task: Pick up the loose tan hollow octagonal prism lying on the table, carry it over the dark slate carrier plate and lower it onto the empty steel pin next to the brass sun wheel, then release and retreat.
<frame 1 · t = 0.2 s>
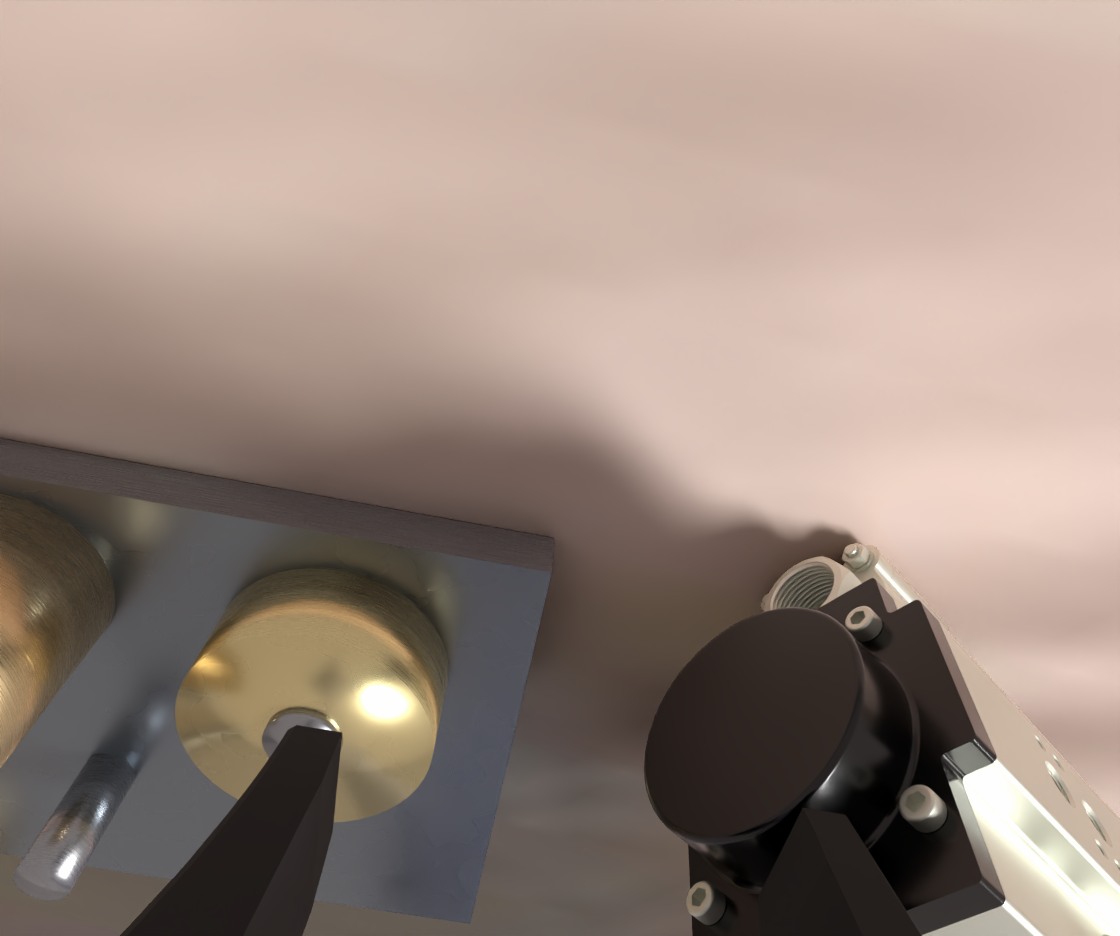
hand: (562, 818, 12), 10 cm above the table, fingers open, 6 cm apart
carrier: (236, 687, 25), on the table
pneumatic valve: (862, 597, 23), on the table, touching gripper
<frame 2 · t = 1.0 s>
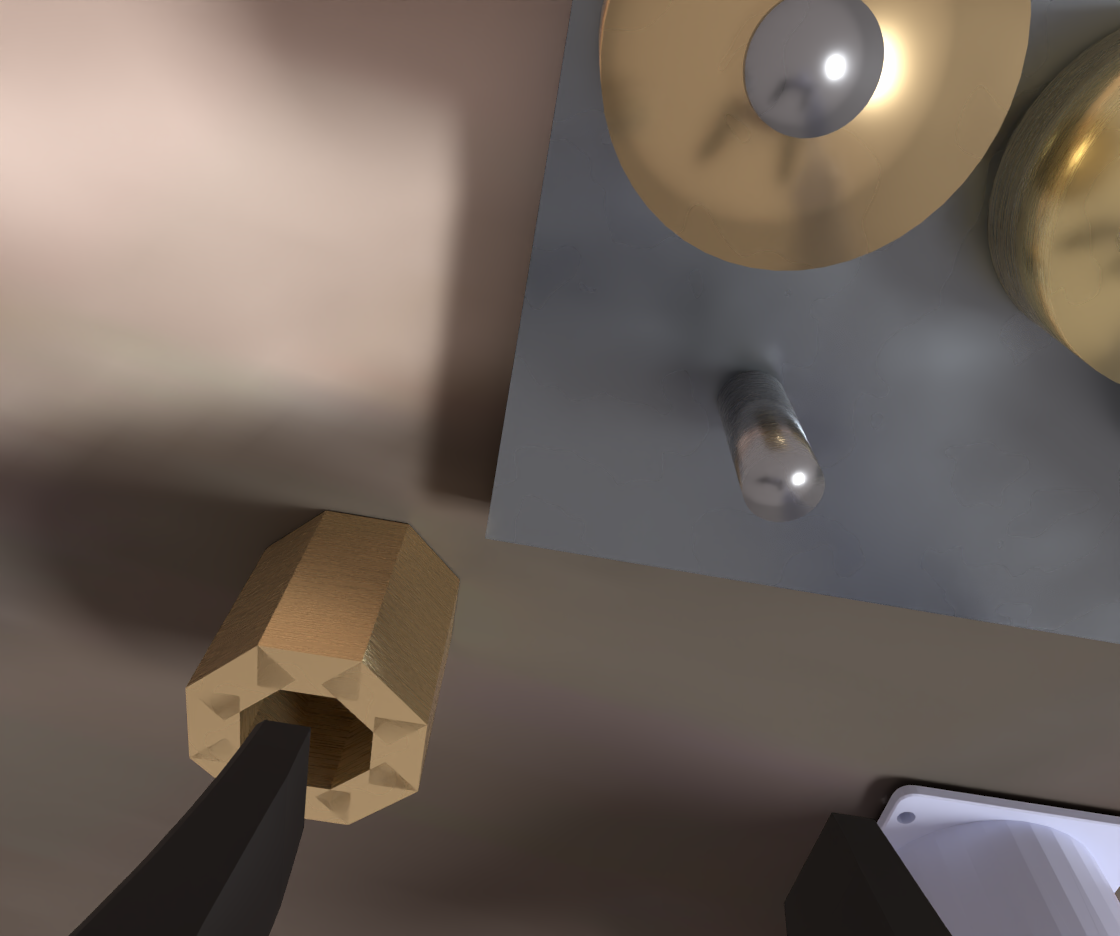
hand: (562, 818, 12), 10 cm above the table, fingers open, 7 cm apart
carrier: (911, 290, 18), on the table
tan hollow octagonal prism: (361, 595, 23), on the table
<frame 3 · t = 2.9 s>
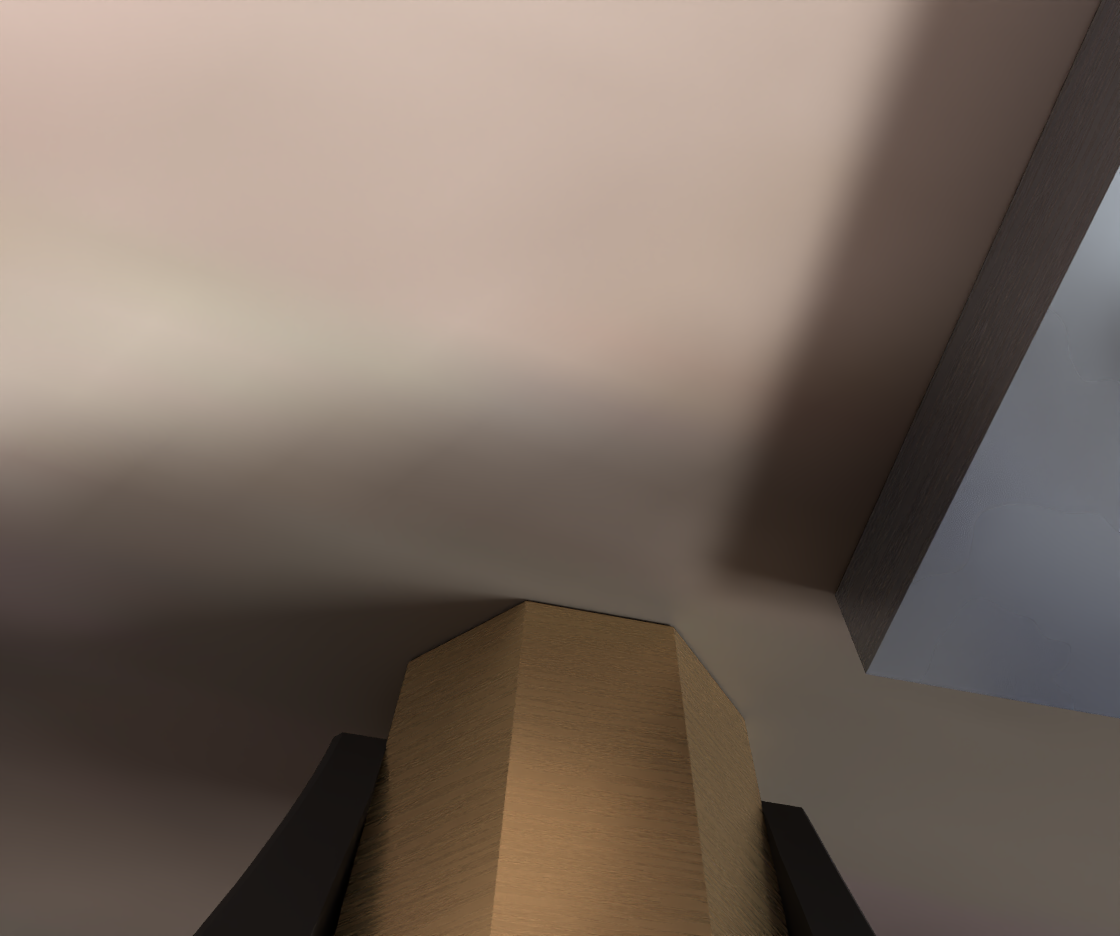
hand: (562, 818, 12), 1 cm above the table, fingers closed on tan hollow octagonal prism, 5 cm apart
tan hollow octagonal prism: (564, 740, 13), on the table, touching gripper
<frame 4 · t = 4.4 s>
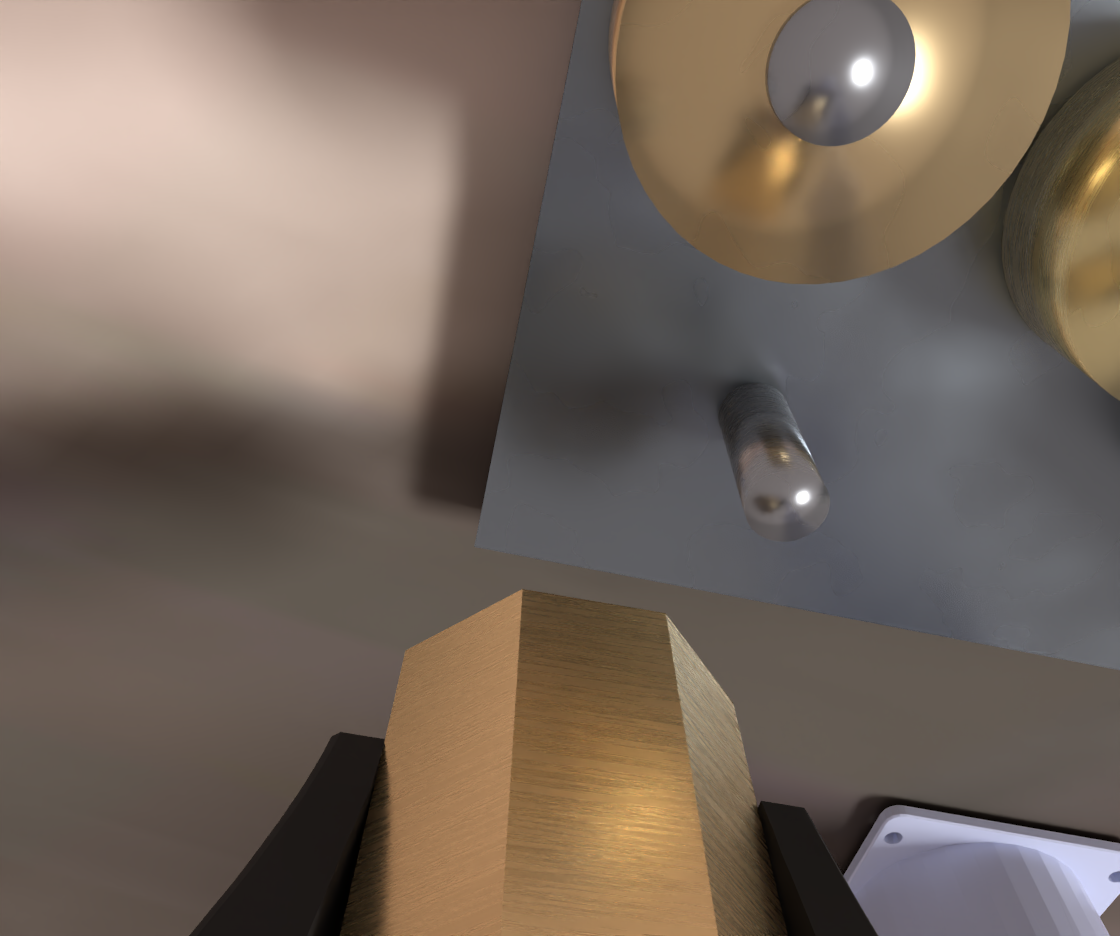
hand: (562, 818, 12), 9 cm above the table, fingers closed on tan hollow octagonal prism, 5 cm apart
carrier: (919, 305, 18), on the table
tan hollow octagonal prism: (558, 725, 13), point 8 cm above the table, touching gripper
when the fingers open (4 cm above the table, at t = 6.1 s): tan hollow octagonal prism drops 1 cm, resting on carrier.
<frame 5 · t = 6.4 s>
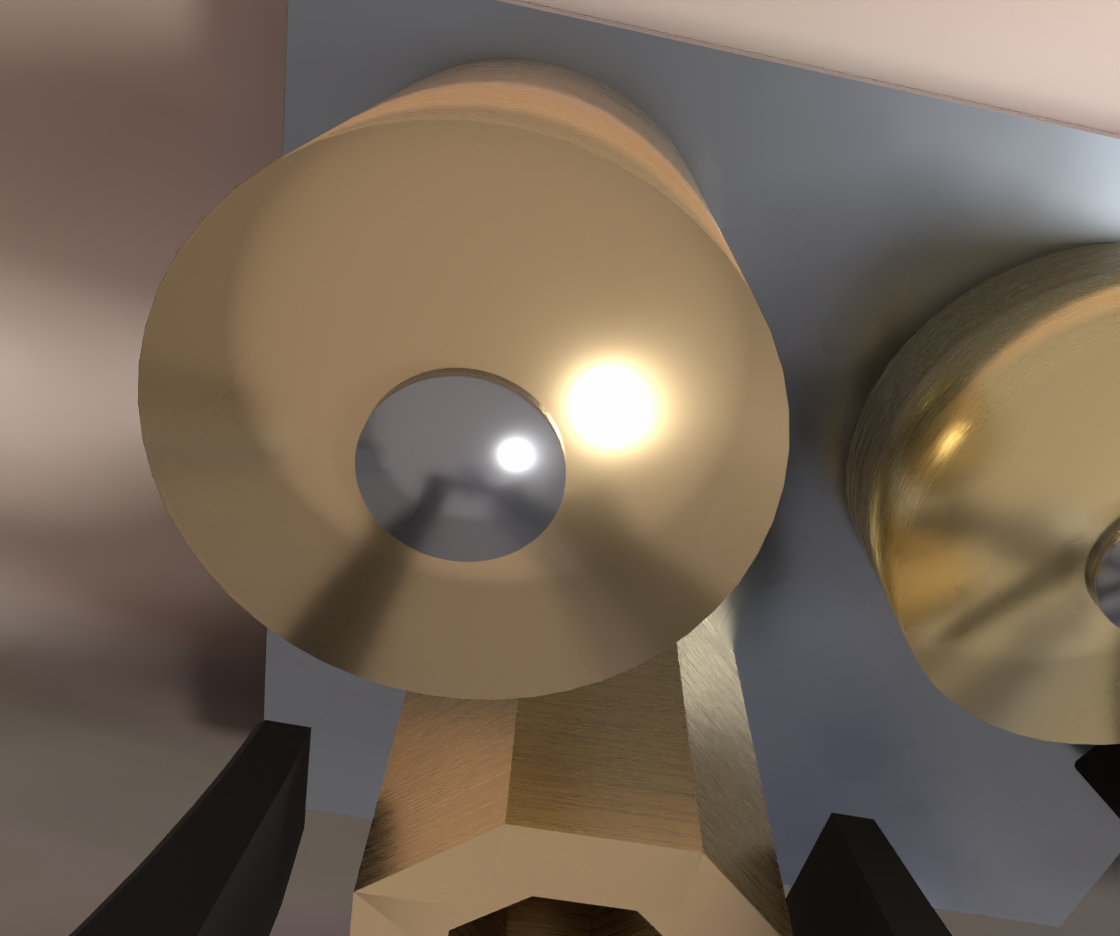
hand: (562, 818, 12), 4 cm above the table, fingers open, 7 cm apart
carrier: (771, 531, 15), on the table
tan hollow octagonal prism: (571, 675, 14), point 1 cm above the table, touching carrier
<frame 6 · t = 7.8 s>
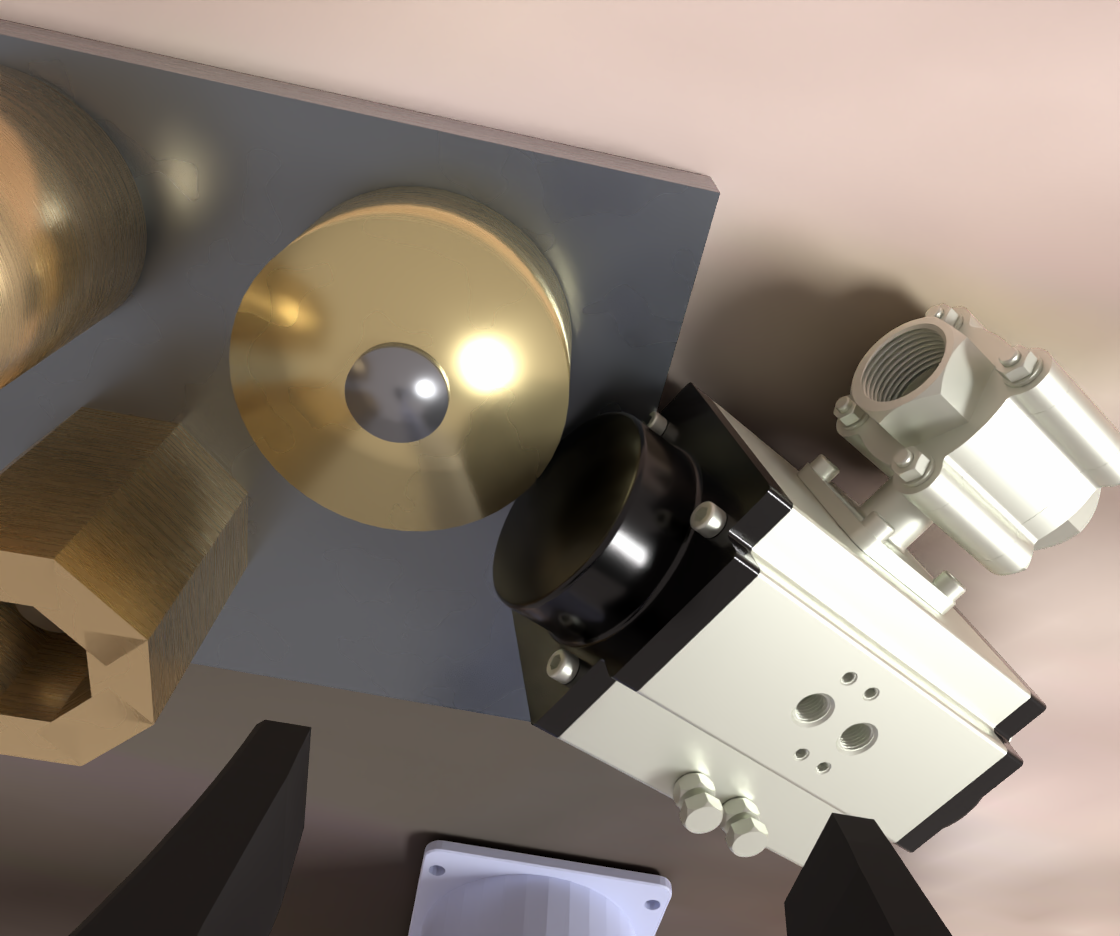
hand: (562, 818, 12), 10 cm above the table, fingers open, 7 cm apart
carrier: (290, 408, 20), on the table
pneumatic valve: (1069, 375, 16), point 2 cm above the table, touching carrier
tan hollow octagonal prism: (138, 511, 20), point 1 cm above the table, touching carrier
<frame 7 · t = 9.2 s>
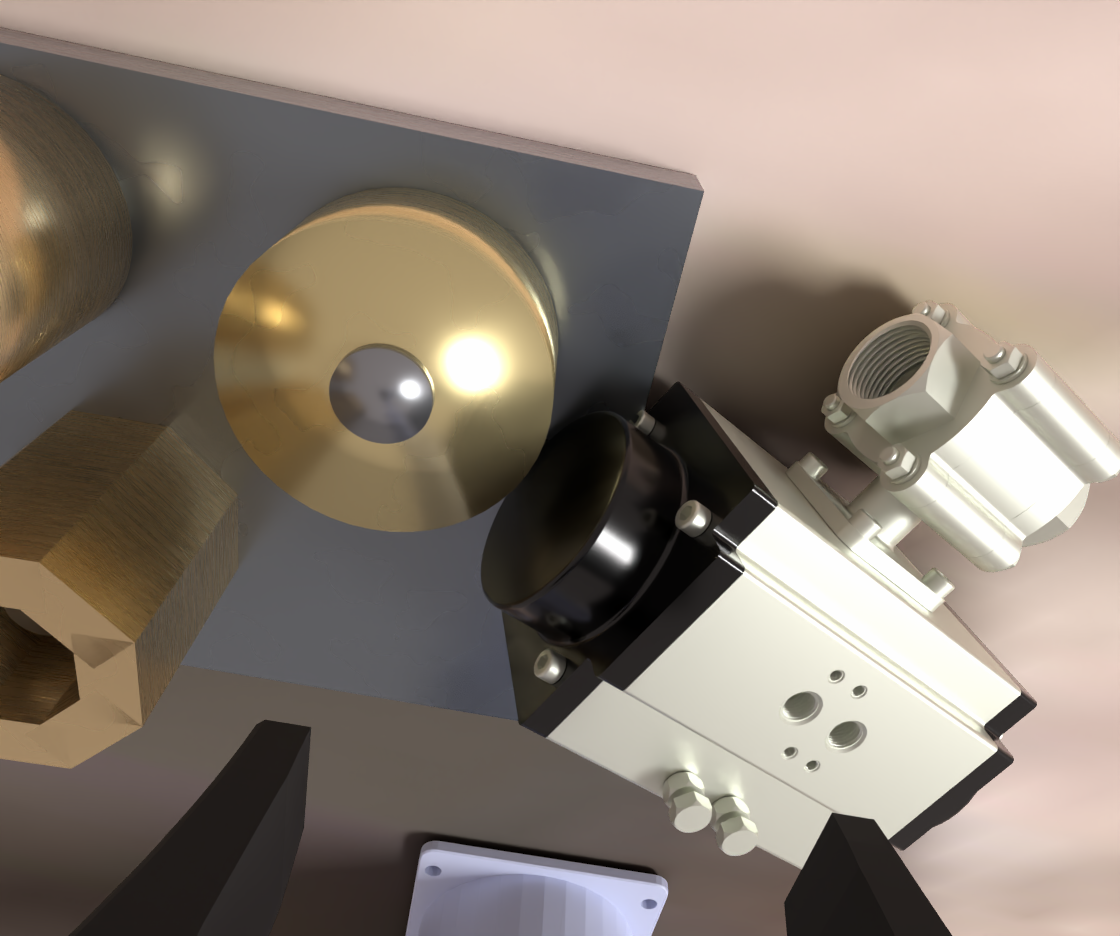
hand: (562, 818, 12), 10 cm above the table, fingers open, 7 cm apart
carrier: (280, 410, 20), on the table
pneumatic valve: (1055, 371, 16), point 2 cm above the table, touching carrier
tan hollow octagonal prism: (128, 514, 20), point 1 cm above the table, touching carrier
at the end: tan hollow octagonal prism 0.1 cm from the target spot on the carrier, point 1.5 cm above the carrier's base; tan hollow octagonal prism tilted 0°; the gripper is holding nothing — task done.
